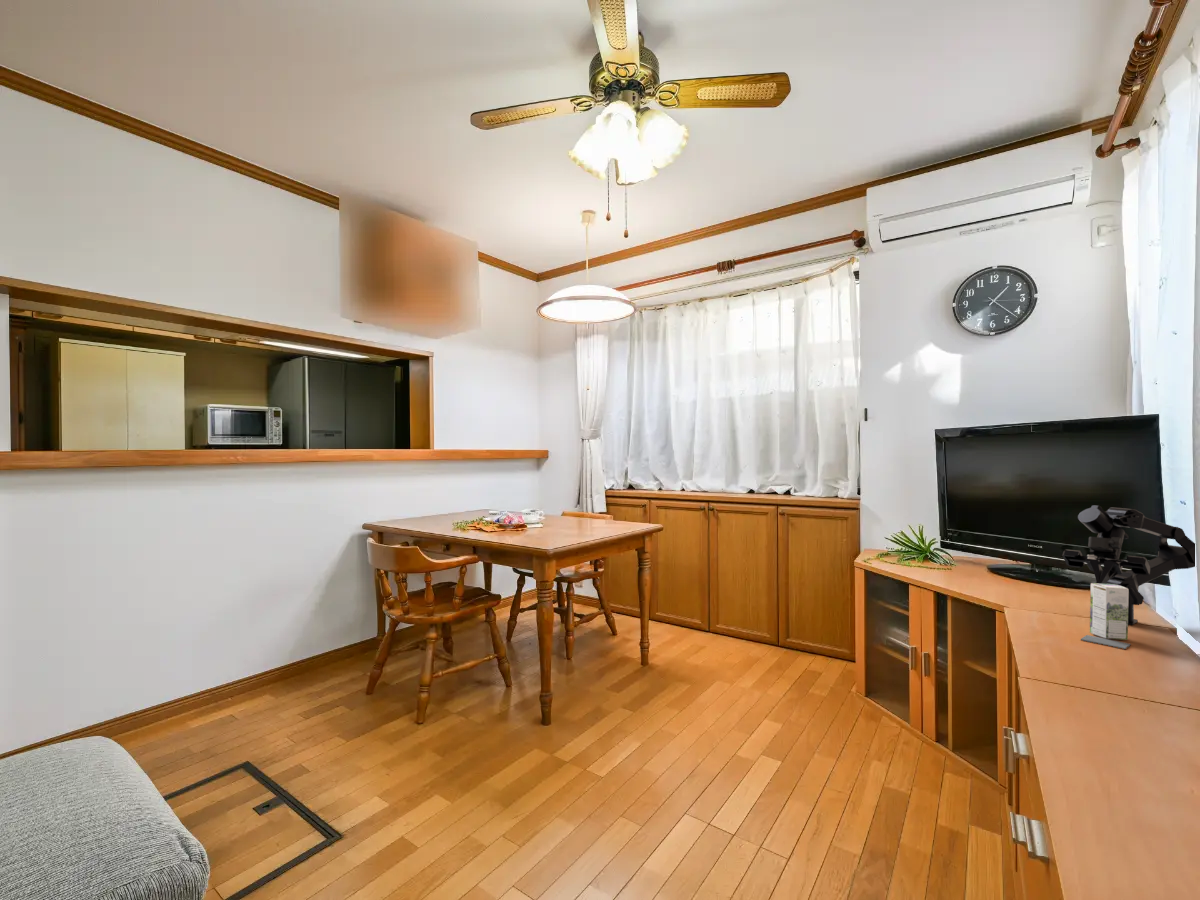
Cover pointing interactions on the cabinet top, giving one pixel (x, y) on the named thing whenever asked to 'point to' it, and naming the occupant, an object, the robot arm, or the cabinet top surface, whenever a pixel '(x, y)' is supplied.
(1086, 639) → the slate mat
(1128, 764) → the cabinet top surface
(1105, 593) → the syrup box
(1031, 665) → the cabinet top surface
